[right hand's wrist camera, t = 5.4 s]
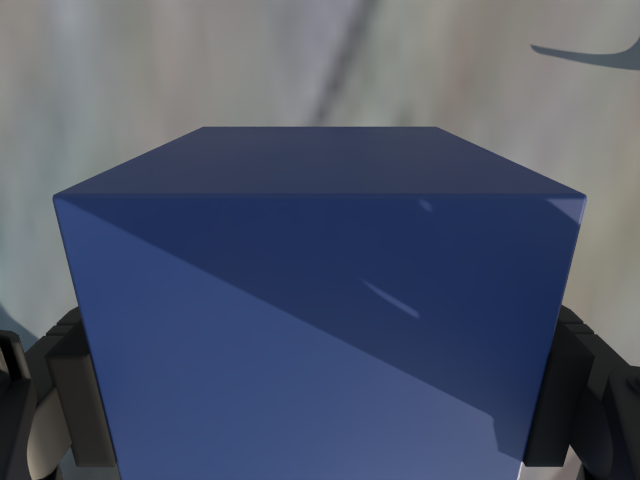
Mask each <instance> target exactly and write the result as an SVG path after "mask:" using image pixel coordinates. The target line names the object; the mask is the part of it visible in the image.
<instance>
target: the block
mask: <svg viewBox="0 0 640 480" xmlns="http://www.w3.org/2000/svg"><path fill="white" fill-rule="evenodd" d="M586 201H587V197H586V195H585V194H583V193H581V192H578V191H576V190H574V189H572V188H570V187H567V186H565V185H563V184H561V183H559V182H556V181H554V180H552V179H550V178H548V177H545V176H543V175H541V174H539V173H537V172H534V171H532V170H530V169H528V168H526V167H523V166H521V165H519V164H517V163H515V162H512V161H510V160H508V159H506V158H504V157H501V156H499V155H497V154H495V153H493V152H490V151H488V150H486V149H484V148H482V147H480V146H477V145H475V144H473V143H471V142H469V141H466V140H464V139H462V138H460V137H458V136H455V135H453V134H451V133H449V132H447V131H444V130H442V129H440V128H438V127H202V128H200V129H197V130H195V131H193V132H191V133H189V134H186V135H184V136H182V137H180V138H178V139H175V140H173V141H171V142H169V143H167V144H164V145H162V146H160V147H158V148H156V149H153V150H151V151H149V152H147V153H145V154H142V155H140V156H138V157H136V158H134V159H131V160H129V161H127V162H125V163H123V164H120V165H118V166H116V167H114V168H112V169H109V170H107V171H105V172H103V173H101V174H98V175H96V176H94V177H92V178H90V179H87V180H85V181H83V182H81V183H79V184H76V185H74V186H72V187H70V188H68V189H66V190H63V191H61V192H59V193H57V194H55V195H54V196H53V204H54V208H55V212H56V216H57V220H58V224H59V228H60V232H61V236H62V241H63V245H64V249H65V253H66V257H67V261H68V265H69V269H70V273H71V277H72V282H73V286H74V290H75V294H76V298H77V302H78V306H79V310H80V314H81V318H82V323H83V327H84V331H85V335H86V339H87V343H88V347H89V351H90V355H91V359H92V364H93V368H94V372H95V376H96V380H97V384H98V388H99V392H100V396H101V400H102V405H103V409H104V413H105V417H106V421H107V425H108V429H109V433H110V437H111V441H112V446H113V450H114V454H115V458H116V462H117V466H118V470H119V474H120V478H121V480H519V476H520V472H521V468H522V464H523V460H524V456H525V452H526V447H527V443H528V439H529V435H530V431H531V427H532V423H533V419H534V415H535V410H536V406H537V402H538V398H539V394H540V390H541V386H542V382H543V378H544V373H545V369H546V365H547V361H548V357H549V353H550V349H551V345H552V341H553V336H554V332H555V328H556V324H557V320H558V316H559V312H560V308H561V304H562V299H563V295H564V291H565V287H566V283H567V279H568V275H569V271H570V267H571V262H572V258H573V254H574V250H575V246H576V242H577V238H578V234H579V230H580V225H581V221H582V217H583V213H584V209H585V205H586Z"/></svg>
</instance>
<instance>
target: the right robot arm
mask: <svg viewBox="0 0 640 480" xmlns="http://www.w3.org/2000/svg"><path fill="white" fill-rule="evenodd" d="M569 444H570V445H571V447H572V448H573V450H574V451H575V453H576V454H577V456H578V457H579V459H580V460H581V462H582V463H581V466H580V469H579V472H578V475H577V478H576V480H640V367H637V366H630V365H629V364H628V363H627V362H626V361H625V360H624V359H623V358H621V357H620V356H619V355H618V354H617V353H616V352H615V351H614V350H613V349H612V348H611V347H610V346H609V345H608V344H607V343H606V342H604V341H603V340H602V339H601V338H600V337H599V336H598V335H597V334H594V331H593V330H592V329H591V328H590V327H588V326H587V325H586V324H584V323H583V321H582V320H581V319H580V318H579V317H578V316H577V315H576V314H575V313H574V312H573V311H571V310H570V309H569V308H567V307H565V306H563V305H561V308H560V312H559V316H558V320H557V324H556V328H555V332H554V336H553V341H552V345H551V349H550V353H549V357H548V361H547V365H546V369H545V373H544V378H543V382H542V386H541V390H540V394H539V398H538V402H537V406H536V410H535V415H534V419H533V423H532V427H531V431H530V435H529V439H528V443H527V447H526V452H525V456H524V460H523V462H524V464H525V466H526V467H563V465H564V461H565V458H566V455H567V451H568V448H569ZM70 446H71V449H72V452H73V456H74V459H75V462H76V466H77V467H114V466H115V464H116V458H115V454H114V450H113V446H112V441H111V437H110V433H109V429H108V425H107V421H106V417H105V413H104V409H103V405H102V400H101V396H100V392H99V388H98V384H97V380H96V376H95V372H94V368H93V364H92V359H91V355H90V351H89V347H88V343H87V339H86V335H85V331H84V327H83V323H82V318H81V314H80V310H79V306H78V307H76V308H74V309H72V310H71V311H69V312H68V313H67V314H66V315H65V316H64V317H63V318H62V319H61V320H60V321H58V322H57V325H56V326H53V327H52V328H51V329H50V330H49V331H48V332H47V333H46V336H43V337H42V338H41V339H40V340H38V341H37V342H36V343H35V344H34V345H33V346H32V347H31V348H30V349H29V350H28V351H27V352H26V353H25V354H24V351H23V348H22V344H21V341H20V338H19V335H17V334H16V333H14V332H12V331H5V330H0V480H63V478H62V472H61V469H60V466H59V462H60V461H61V459H62V458H63V456H64V455H65V453H66V452H67V450H68V449H69V447H70Z"/></svg>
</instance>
